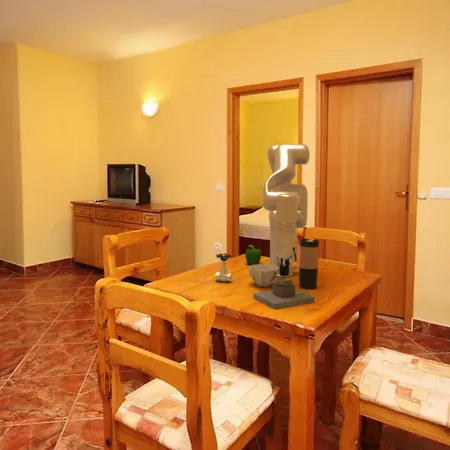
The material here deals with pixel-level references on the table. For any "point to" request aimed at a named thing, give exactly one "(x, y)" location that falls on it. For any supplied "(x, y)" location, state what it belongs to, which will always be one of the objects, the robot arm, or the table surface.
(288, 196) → the robot arm
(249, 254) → the bell pepper
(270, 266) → the teacup
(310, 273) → the travel mug
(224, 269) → the valve
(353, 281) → the table surface
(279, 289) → the knob
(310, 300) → the hub plate
